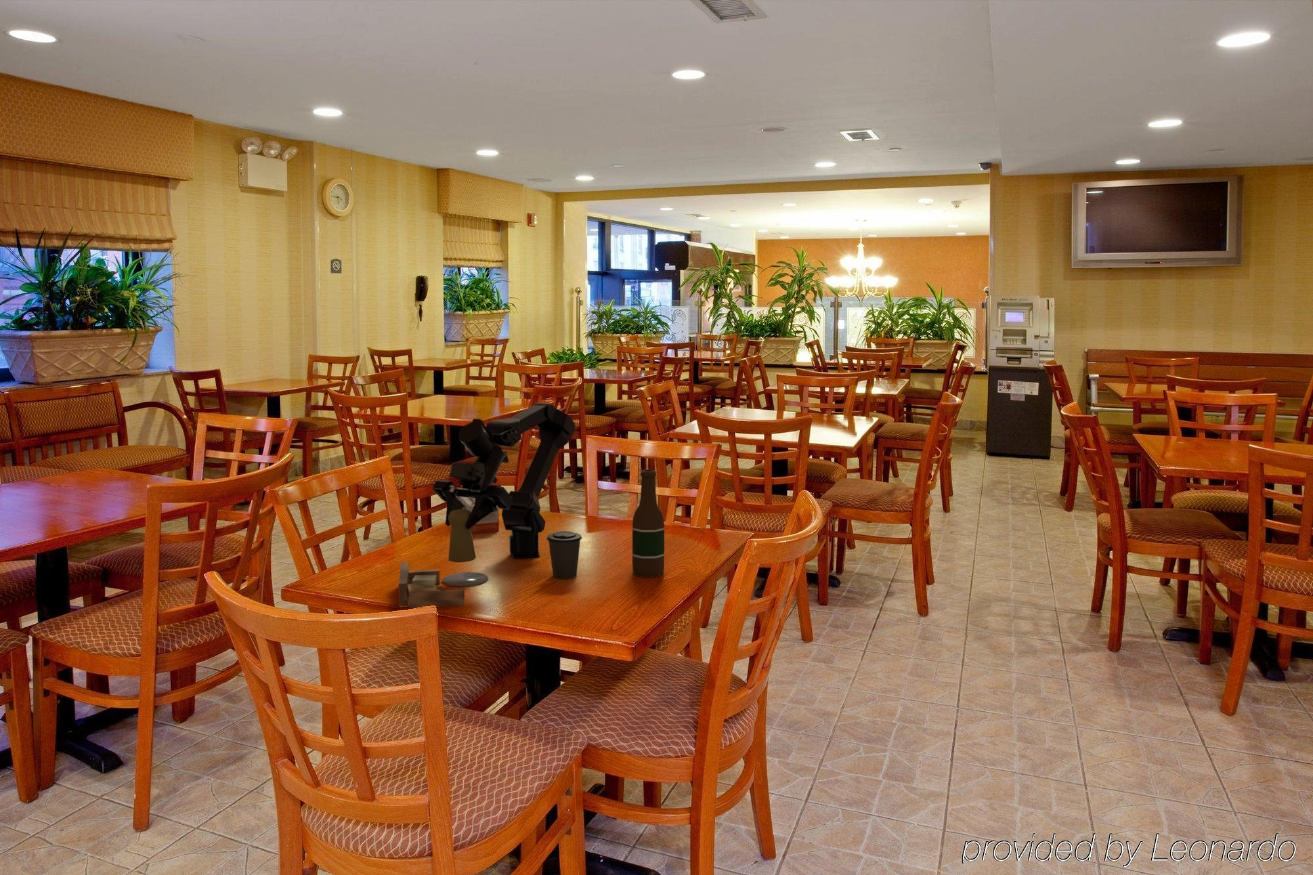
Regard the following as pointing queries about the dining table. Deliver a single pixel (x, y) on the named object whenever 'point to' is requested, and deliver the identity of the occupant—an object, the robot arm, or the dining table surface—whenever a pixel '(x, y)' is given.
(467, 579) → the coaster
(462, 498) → the medicine box
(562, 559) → the coffee cup
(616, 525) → the dining table surface
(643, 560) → the beer bottle
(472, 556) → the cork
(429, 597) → the rack
